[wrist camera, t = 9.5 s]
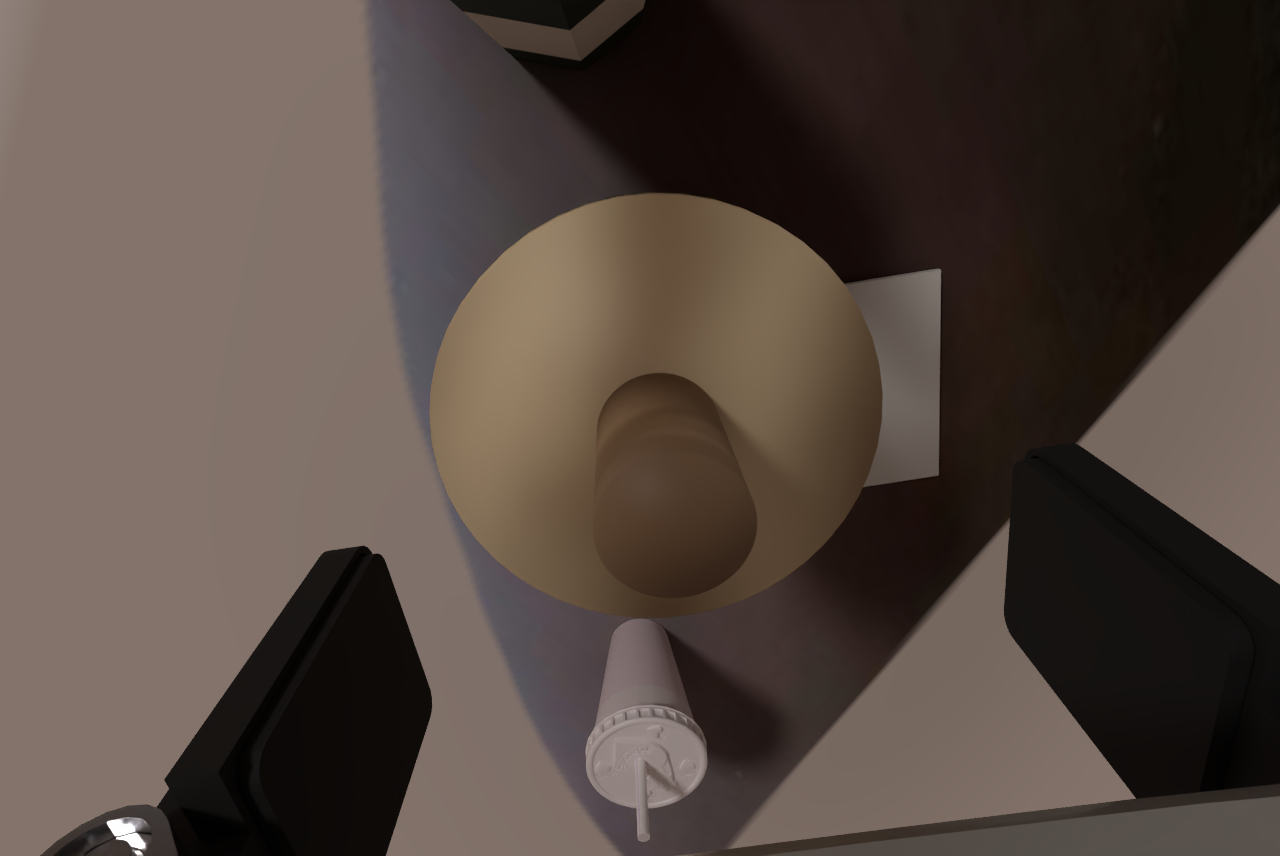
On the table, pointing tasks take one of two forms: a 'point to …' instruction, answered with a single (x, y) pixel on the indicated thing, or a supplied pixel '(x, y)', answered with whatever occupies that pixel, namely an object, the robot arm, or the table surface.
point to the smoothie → (644, 726)
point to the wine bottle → (555, 27)
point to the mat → (905, 371)
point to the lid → (655, 405)
